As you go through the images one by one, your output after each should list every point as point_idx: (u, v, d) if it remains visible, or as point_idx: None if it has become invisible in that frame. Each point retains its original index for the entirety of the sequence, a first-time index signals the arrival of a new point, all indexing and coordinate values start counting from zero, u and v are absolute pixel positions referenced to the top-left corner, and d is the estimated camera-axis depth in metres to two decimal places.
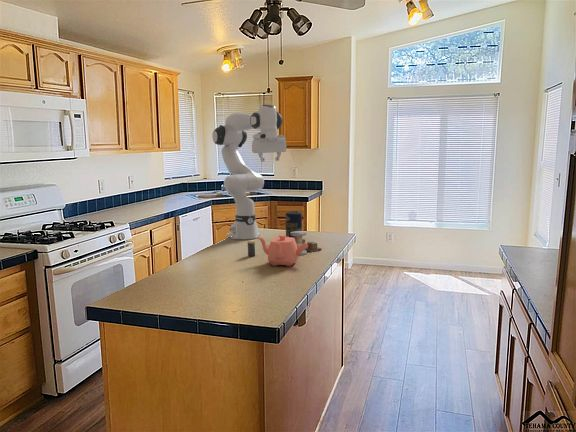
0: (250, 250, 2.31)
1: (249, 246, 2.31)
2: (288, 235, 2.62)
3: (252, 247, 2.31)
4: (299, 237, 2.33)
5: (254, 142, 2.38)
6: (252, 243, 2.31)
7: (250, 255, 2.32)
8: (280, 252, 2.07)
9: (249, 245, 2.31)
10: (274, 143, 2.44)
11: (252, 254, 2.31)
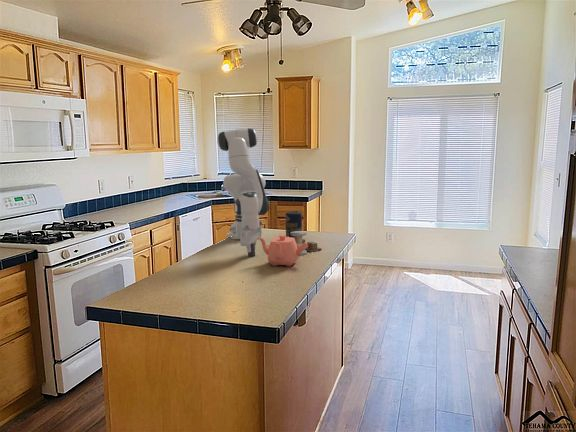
0: None
1: None
2: (288, 235, 2.62)
3: (252, 247, 2.31)
4: (299, 237, 2.33)
5: None
6: (252, 243, 2.31)
7: (250, 255, 2.32)
8: (280, 252, 2.07)
9: None
10: None
11: (252, 254, 2.31)
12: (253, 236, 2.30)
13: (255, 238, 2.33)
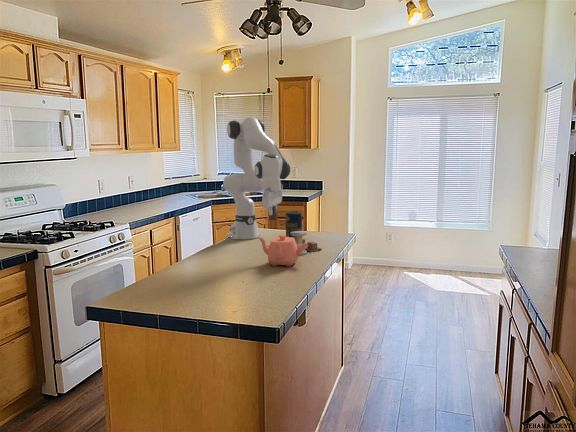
0: None
1: None
2: (288, 235, 2.62)
3: (273, 210, 2.27)
4: (299, 237, 2.33)
5: None
6: (273, 206, 2.26)
7: (271, 218, 2.27)
8: (280, 252, 2.07)
9: None
10: None
11: (273, 217, 2.27)
12: (275, 199, 2.26)
13: (276, 201, 2.29)
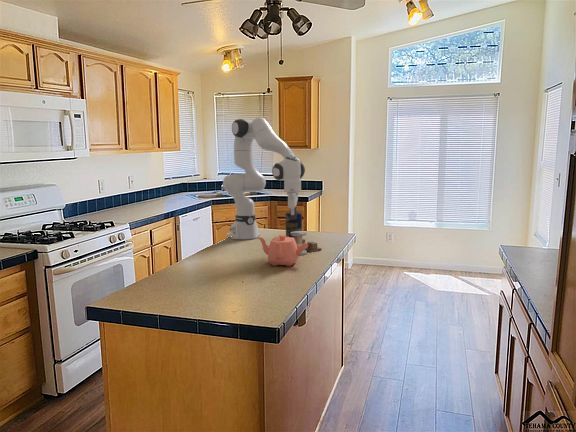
0: None
1: None
2: (288, 235, 2.62)
3: (295, 210, 2.38)
4: (299, 237, 2.33)
5: None
6: (295, 206, 2.37)
7: (293, 218, 2.38)
8: (280, 252, 2.07)
9: None
10: None
11: (295, 217, 2.38)
12: (296, 199, 2.37)
13: (296, 201, 2.40)
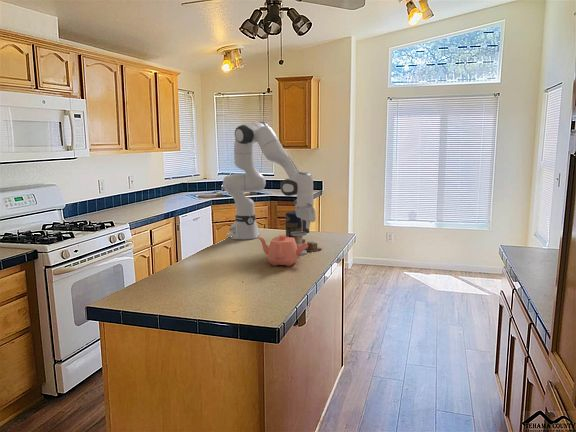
0: None
1: None
2: (288, 235, 2.62)
3: None
4: (299, 237, 2.33)
5: None
6: None
7: (307, 231, 2.44)
8: (280, 252, 2.07)
9: None
10: (304, 211, 2.41)
11: (308, 230, 2.45)
12: None
13: None
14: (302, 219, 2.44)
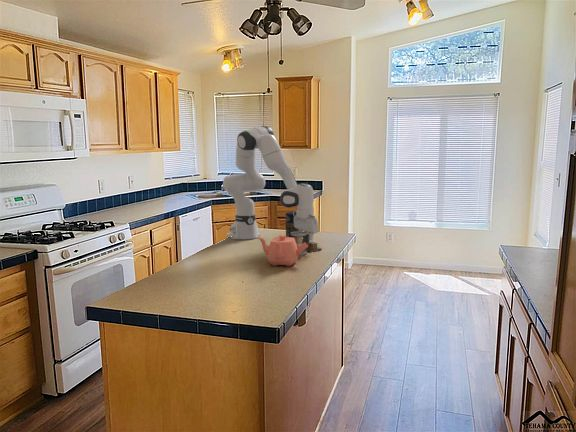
0: (308, 240, 2.45)
1: (307, 237, 2.45)
2: (288, 235, 2.62)
3: None
4: (299, 237, 2.33)
5: None
6: None
7: None
8: (280, 252, 2.07)
9: (307, 236, 2.45)
10: (305, 222, 2.42)
11: None
12: None
13: None
14: None
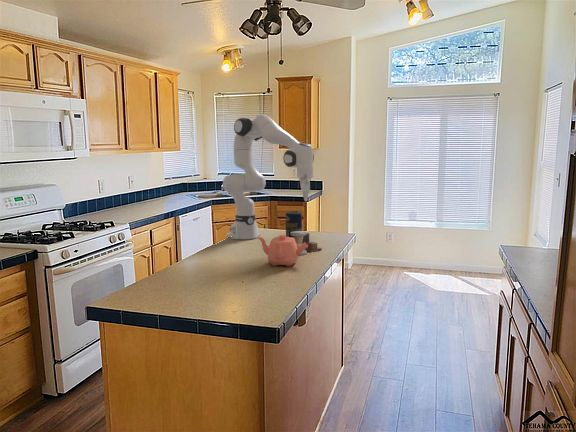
0: (308, 240, 2.45)
1: (307, 237, 2.45)
2: (288, 235, 2.62)
3: None
4: (299, 237, 2.33)
5: None
6: None
7: None
8: (280, 252, 2.07)
9: (307, 236, 2.45)
10: (302, 182, 2.39)
11: None
12: None
13: None
14: None
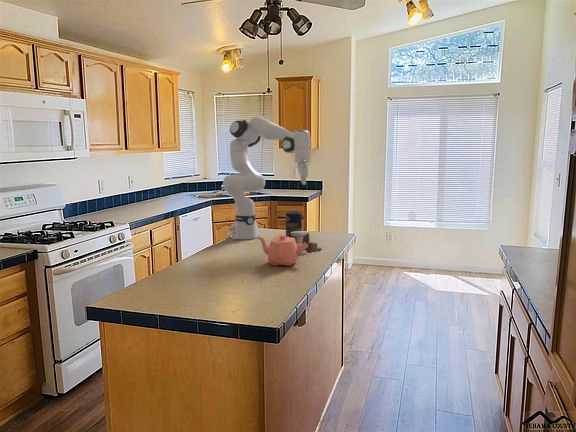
0: (308, 240, 2.45)
1: (307, 237, 2.45)
2: (288, 235, 2.62)
3: None
4: (299, 237, 2.33)
5: None
6: None
7: None
8: (280, 252, 2.07)
9: (307, 236, 2.45)
10: (300, 167, 2.50)
11: None
12: None
13: None
14: None
